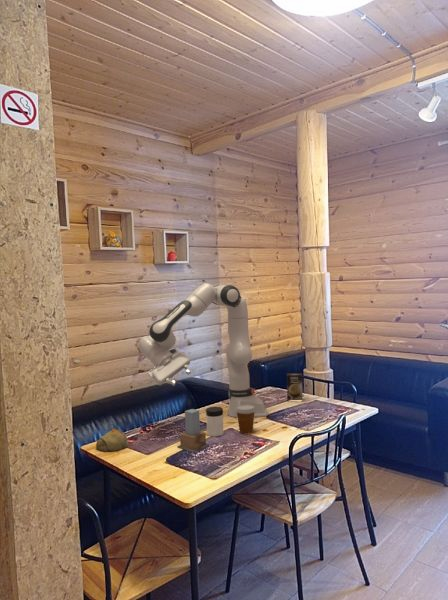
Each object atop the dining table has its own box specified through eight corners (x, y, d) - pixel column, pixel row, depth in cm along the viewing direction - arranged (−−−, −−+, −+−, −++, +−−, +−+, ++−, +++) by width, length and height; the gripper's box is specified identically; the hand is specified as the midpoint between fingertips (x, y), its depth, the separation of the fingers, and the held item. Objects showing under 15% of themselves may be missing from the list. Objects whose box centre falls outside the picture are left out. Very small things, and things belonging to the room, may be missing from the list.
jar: (211, 438, 206) (210, 412, 206) (202, 433, 213) (201, 408, 212) (227, 433, 211) (226, 409, 210) (218, 429, 218) (217, 405, 217)
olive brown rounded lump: (133, 443, 204) (132, 425, 204) (121, 453, 192) (120, 435, 191) (105, 441, 207) (104, 424, 207) (91, 451, 195) (90, 434, 195)
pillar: (192, 430, 199) (192, 408, 199) (200, 432, 196) (199, 410, 196) (185, 433, 196) (184, 411, 195) (192, 435, 193) (191, 413, 192)
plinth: (193, 440, 203) (192, 427, 203) (209, 445, 197) (208, 432, 196) (177, 447, 196) (176, 434, 196) (193, 452, 189) (192, 438, 189)
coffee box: (287, 402, 262) (286, 375, 261) (287, 399, 268) (286, 372, 267) (302, 402, 260) (302, 375, 259) (302, 399, 266) (302, 372, 266)
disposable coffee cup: (232, 432, 213) (231, 407, 212) (245, 426, 220) (244, 403, 219) (247, 436, 207) (246, 411, 206) (260, 430, 213) (259, 406, 213)
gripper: (146, 368, 208) (165, 387, 202) (178, 346, 220) (198, 363, 214) (146, 376, 212) (165, 394, 207) (178, 354, 224) (197, 371, 218)
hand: (182, 378), depth 210 cm, fingers open, 8 cm apart
